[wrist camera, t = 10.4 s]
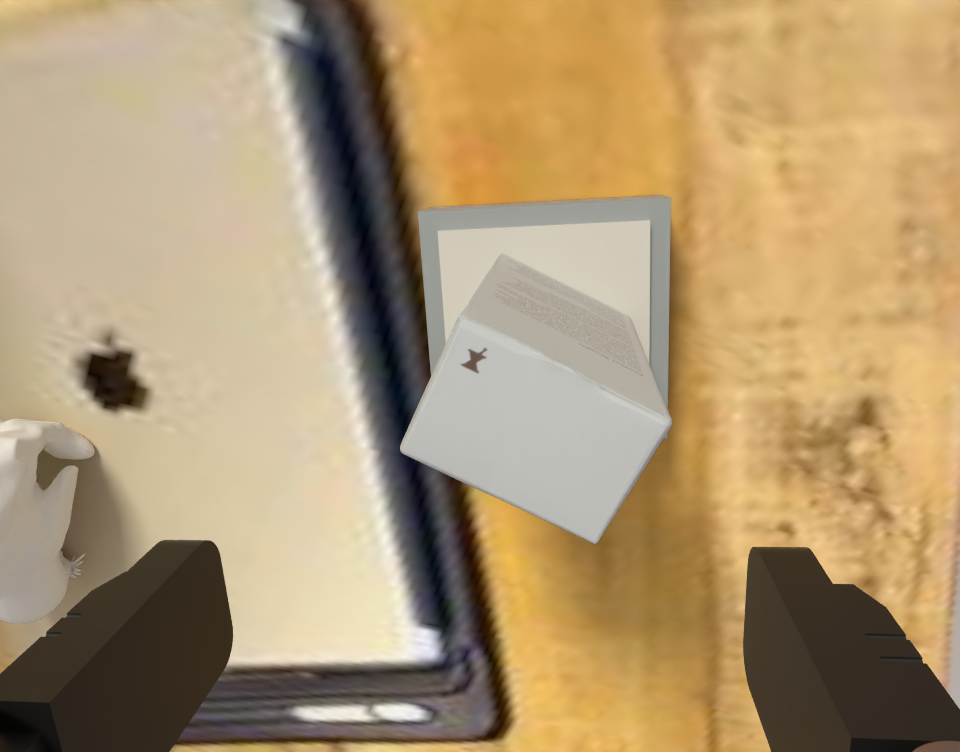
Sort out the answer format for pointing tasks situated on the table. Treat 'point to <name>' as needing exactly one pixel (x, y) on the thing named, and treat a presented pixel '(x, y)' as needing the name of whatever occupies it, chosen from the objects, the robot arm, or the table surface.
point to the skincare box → (541, 401)
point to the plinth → (555, 259)
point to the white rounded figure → (35, 518)
